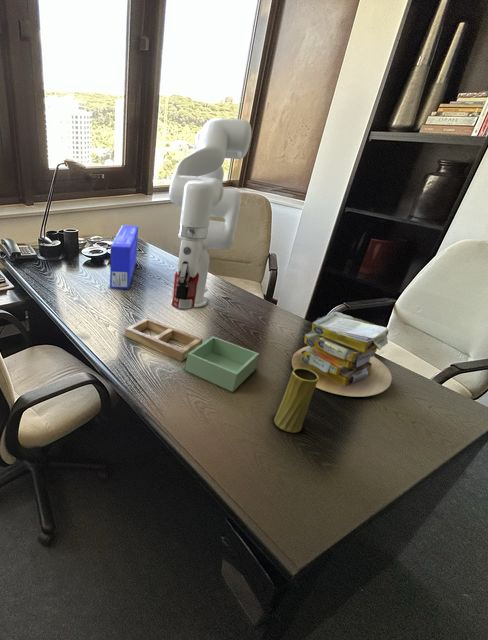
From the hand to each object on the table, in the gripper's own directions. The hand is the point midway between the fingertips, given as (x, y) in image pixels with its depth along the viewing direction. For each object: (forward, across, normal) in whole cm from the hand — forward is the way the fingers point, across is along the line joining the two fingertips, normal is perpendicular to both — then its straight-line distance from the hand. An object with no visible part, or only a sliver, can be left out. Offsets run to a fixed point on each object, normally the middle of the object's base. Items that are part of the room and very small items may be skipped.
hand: (184, 293), depth 108 cm
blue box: (+19, +56, +38) cm, 71 cm away
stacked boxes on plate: (+18, +5, -46) cm, 50 cm away
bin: (+18, -8, -15) cm, 24 cm away
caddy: (+18, +1, +5) cm, 19 cm away
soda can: (+4, 0, 0) cm, 4 cm away
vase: (+18, -25, -32) cm, 45 cm away
